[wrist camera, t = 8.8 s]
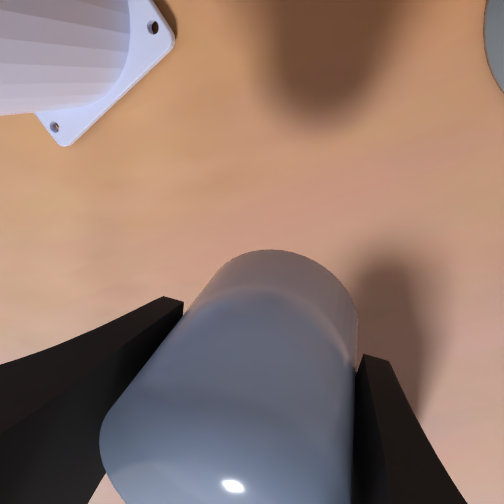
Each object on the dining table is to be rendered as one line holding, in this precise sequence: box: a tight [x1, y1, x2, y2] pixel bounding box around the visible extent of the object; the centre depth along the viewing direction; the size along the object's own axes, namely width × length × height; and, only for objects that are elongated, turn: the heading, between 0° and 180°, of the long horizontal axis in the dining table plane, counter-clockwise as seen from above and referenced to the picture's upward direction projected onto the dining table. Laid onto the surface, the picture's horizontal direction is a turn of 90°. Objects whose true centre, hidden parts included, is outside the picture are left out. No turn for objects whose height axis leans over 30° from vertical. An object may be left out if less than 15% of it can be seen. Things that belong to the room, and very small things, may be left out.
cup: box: [99, 250, 358, 504], centre depth 10 cm, size 6×5×6 cm
